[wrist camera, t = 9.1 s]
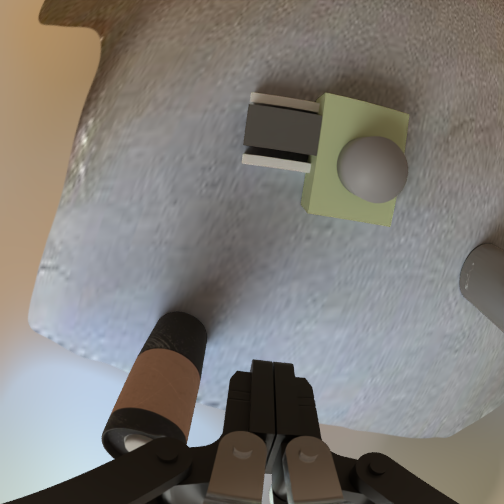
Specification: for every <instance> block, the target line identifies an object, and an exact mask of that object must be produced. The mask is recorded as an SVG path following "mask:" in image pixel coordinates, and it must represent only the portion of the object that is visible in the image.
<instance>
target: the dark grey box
mask: <svg viewBox="0 0 504 504" xmlns="http://www.w3.org/2000/svg"><path fill="white" fill-rule="evenodd" d="M321 123H322V116H321V115H316V114H311V113H305V112H300V111H294V110H288V109H281V108H275V107H268V106H260V105H252V104H249V107H248V114H247V121H246V128H245V136H244V143H243V145H246V146H254V147H261V148H268V149H275V150H282V151H289V152H295V153H301V154H307V155H313V156H317V151H318V144H319V137H320V130H321Z"/></svg>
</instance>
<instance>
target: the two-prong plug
mask: <svg viewBox="0 0 504 504" xmlns="http://www.w3.org/2000/svg"><path fill="white" fill-rule="evenodd" d="M250 104H252V105H260V106H268V107H275V108H281V109H288V110H294V111H300V112H305V113H311V114H316V115H321V116H322V123H321V130H320V137H319V144H318V151H317V156H313V155H308V161H307V163H306V162H300V161H294V160H288V159H281V158H274V157H267V156H260V155H252V154H243V158H242V164H250V165H258V166H265V167H272V168H279V169H286V170H292V171H299V172H305V173H306V174H305V180H304V186H303V193H302V199H301V205H302V207H303V208H304V209H305V210H306V212H307V213H309V214H315V215H322V216H328V217H335V218H341V219H347V220H353V221H359V222H365V223H371V224H377V225H383V226H388V227H390V226H391V221H392V216H393V212H394V207H395V202H396V197H397V195H398V194H399V193H400V192H401V191H402V189H403V188H404V186H405V183H406V181H407V176H408V165H407V160H406V158H405V155H404V151H405V144H406V137H407V129H408V121H409V114H406V113H403V112H399V111H396V110H393V109H390V108H386V107H383V106H379V105H375V104H372V103H368V102H364V101H360V100H356V99H352V98H348V97H344V96H339V95H335V94H330V93H325V94H323V95H322V96H321V97H319V98H318V99H317V100H316V102H311V101H306V100H300V99H294V98H288V97H282V96H275V95H268V94H261V93H253V92H251V99H250Z"/></svg>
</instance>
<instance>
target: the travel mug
mask: <svg viewBox="0 0 504 504" xmlns="http://www.w3.org/2000/svg"><path fill="white" fill-rule="evenodd" d="M206 343H207V334H206V330H205V328H204V326H203V325H202V323H201V322H200V321H199V320H198V319H196V318H195V317H193V316H192V315H190V314H187V313H183V312H172V313H168V314H166V315H164V316H163V317H161V318H160V319H159V321H158V322H157V324H156V325H155V327H154V329H153V330H152V332H151V334H150V336H149V337H148V339H147V341H146V343H145V344H144V346H143V348H142V350H141V351H140V353H139V355H138V357H137V359H136V361H135V363H134V365H133V367H132V369H131V371H130V373H129V375H128V378H127V380H126V382H125V384H124V386H123V388H122V391H121V393H120V395H119V397H118V399H117V402H116V404H115V406H114V408H113V411H112V413H111V415H110V417H109V419H108V422H107V424H106V426H105V429H104V431H103V434H102V444H103V446H104V448H105V449H106V451H107V452H108V453H109V454H110V455H111V456H112V457H113V458H114V459H116V458H118V457H120V456H122V455H124V454H126V453H128V452H130V451H132V450H134V449H136V448H138V447H140V446H142V445H144V444H146V443H148V442H150V441H151V440H154V439H156V438H161V437H171V438H175V439H178V440H180V441H182V442H184V443H185V444H187V440H188V435H189V431H190V426H191V422H192V417H193V412H194V408H195V403H196V399H197V394H198V390H199V385H200V380H201V374H202V367H203V361H204V355H205V349H206Z"/></svg>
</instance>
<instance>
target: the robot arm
mask: <svg viewBox="0 0 504 504" xmlns="http://www.w3.org/2000/svg"><path fill="white" fill-rule="evenodd" d="M459 283H460V290H461V293H462V295H463V296H464V297H465V298H466V299H467V300H468V301H469V302H470V303H471V304H473V305H474V306H475V307H476V308H477V309H478V310H479V311H480V312H481V313H483V314H484V315H485V316H486V317H487V318H488V319H489V320H490V321H491V322H492V323H494V324H495V325H496V326H497V327H498V328H499V329H500V330H501V331H502V332H503V333H504V250H502V249H501V248H499V247H497V246H495V245H493V244H483V245H480V246H479V247H477V248H476V249H475V250H473V251H472V252H471V254H470V255H469V256H468V258H467V259H466V261H465V263H464V265H463V268H462V270H461V274H460V282H459ZM315 406H316V405H315V400H314V394H313V389H312V386H311V385H310V384H309V382H308V381H307V380H306V378H299V377H295V374H294V366H293V364H291V363H281V362H273V363H272V362H271V361H262V360H254V359H253V360H252V364H251V370H250V372H243V371H236V373H235V374H234V375H233V376H232V377H231V379H230V383H229V391H228V398H227V405H226V412H225V420H224V427H223V433H222V435H221V436H220V438H219V439H218V440H217V441H215V442H214V443H212V444H210V445H207V446H201V447H191V448H189V447H188V446H187V445H186V444H185V443H184V442H182V441H180V440H178V439H175V438H171V437H161V438H156V439H154V440H151V441H150V442H148V443H146V444H144V445H142V446H140V447H138V448H136V449H134V450H132V451H130V452H128V453H126V454H124V455H122V456H120V457H118V458H116V459H114V460H112V461H110V462H108V463H105V464H104V465H101V466H99V467H97V468H95V469H93V470H90V471H88V472H86V473H83V474H81V475H79V476H76V477H74V478H72V479H69V480H67V481H64V482H62V483H60V484H57V485H54V486H52V487H49V488H47V489H44V490H41V491H39V492H36V493H33V494H31V495H28V496H25V497H22V498H19V499H16V500H13V501H10V502H6V503H3V504H261V502H262V493H263V484H264V483H263V482H264V474H265V473H266V474H272V484H271V486H270V489H269V497H270V504H459V503H457V502H456V501H454V500H452V499H451V498H449V497H447V496H446V495H444V494H443V493H441V492H439V491H438V490H437V489H435V488H433V487H432V486H430V485H429V484H427V483H426V482H424V481H423V480H421V479H420V478H418V477H416V476H415V475H414V474H412V473H411V472H409V471H408V470H407V469H405V468H404V467H402V466H401V465H399V464H398V463H396V462H395V461H394V460H392V459H391V458H389V457H388V456H386V455H384V454H381V453H377V452H376V453H375V452H372V453H367V454H364V455H362V456H361V457H360V458H359V459H358V460H356V459H352V458H348V457H343V456H340V455H337V454H335V453H333V452H331V451H330V449H329V447H328V446H327V444H326V443H324V442H323V441H322V439H321V434H320V428H319V422H318V417H317V411H316V408H315Z"/></svg>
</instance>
